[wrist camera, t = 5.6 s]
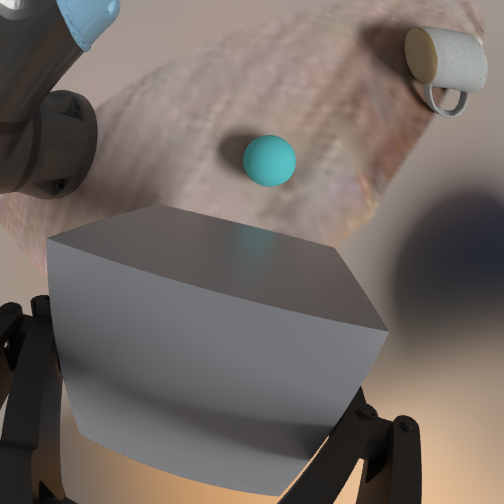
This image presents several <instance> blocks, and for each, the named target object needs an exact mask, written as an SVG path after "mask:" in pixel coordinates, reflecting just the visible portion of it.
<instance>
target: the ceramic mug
mask: <svg viewBox="0 0 504 504" xmlns="http://www.w3.org/2000/svg"><path fill="white" fill-rule="evenodd" d="M405 56H406V61H407V64H408V66H409V69H410V71H411V73H412V74H413V76H414V77H415V78H416V79H417V80H418V81H419V82H421V83H423V84H424V94H425V98H426V101H427V103H428V105H429V107H430V108H431V109H432V110H433V111H434V112H436V113H437V114H440V115H442V116H444V117H448V118H454V117H457V116H459V115H460V114H461V113H462V112H463V111H464V109H465V107H466V104H467V101H468V95H469V92H471V93H474V92H478V91H480V90H481V89H482V88H483V86H484V84H485V82H486V78H487V59H486V56H485V53H484V50H483V48H482V46H481V45H480V43H479V42H478V41H477V39H476V38H474V37H473V36H472V35H470V34H468V33H464V32H458V31H453V30H448V29H441V28H435V27H426V26H422V27H414V28H412V29H411V30H409V32H408V33H407V35H406V38H405ZM432 86H435V87H442V88H450V89H455V90H460V91H461V94H460V99H459V102H458V105H457V106H456V108H455V109H454V110H451V111H448V110H443V109H441V108H440V107H437V106H435V104H434V101H433V97H432V89H431V87H432Z"/></svg>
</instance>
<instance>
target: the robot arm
mask: <svg viewBox="0 0 504 504" xmlns="http://www.w3.org/2000/svg"><path fill="white" fill-rule="evenodd" d="M119 11H120V2H119V0H0V194H5V193H10V192H20V193H23V194H26V195H30V196H33V197H37V198H40V199H54V198H60V197H63V196H66V195H68V194H70V193H71V192H73V191H74V190H75V189H76V188H77V187H78V186H79V185H80V183H81V182H82V181H83V179H84V178H85V176H86V174H87V173H88V171H89V168H90V166H91V164H92V161H93V158H94V154H95V150H96V144H97V120H96V116H95V112H94V110H93V107H92V106H91V104H90V103H89V101H88V100H87V99H86V98H85V97H84V96H82V95H80V94H78V93H75V92H71V91H67V90H58V91H52V92H50V91H51V90H52V88H53V87H54V86H55V85H56V83H57V82H58V81H59V80H60V78H61V77H62V76H63V75H64V74H65V72H66V71H67V70H68V69H69V68H70V67H71V66H72V65H73V63H74V62H75V61H76V60H77V59H78V58H79V57H80V56H81V55H82V54H83V53H84V52H87V51H88V50H89V49H90V48H91V45H92V44H93V42H94V41H95V40H96V39H97V38H98V37H99V36H100V35H101V34H102V33H103V32H104V31H105V30H106V29H107V28H108V27H109V26H110V25H111V24H112V23H113V22H114V21H115V19H116V18H117V16H118V14H119ZM31 309H32V315H33V316H29V315H25V314H23V312H22V307H21V306H20V305H19V304H18V303H14V302H9V303H6V304H4V305H2V306H1V307H0V409H1V407H2V405H3V403H4V401H5V400H6V398H7V396H8V394H9V396H8V401H7V406H6V410H5V417H4V422H3V428H2V435H1V440H0V504H77V503H75V502H74V501H72V500H70V499H69V498H67V497H66V495H65V491H64V489H63V485H62V480H61V465H60V411H61V396H62V383H63V375H62V371H61V367H60V362H59V357H58V352H57V347H56V342H55V336H54V330H53V323H52V315H51V307H50V298H49V296H48V295H40V296H36V297H34V298H32V300H31ZM6 342H7V346H6V347H5V348H4V346H5V343H6ZM359 458H361V459H364V464H363V470H362V475H361V481H360V486H359V492H358V496H357V501H356V504H421V498H422V497H421V496H422V466H421V465H422V464H421V444H420V430H419V426H418V424H417V422H416V421H415V420H413V419H412V418H411V417H409V416H405V415H401V416H397V418H395V420H394V421H393V422H392V421H389V420H386V419H382V418H380V417H378V414H377V412H376V410H375V409H374V408H373V407H372V406H370V405H369V404H366V400H365V397H364V394H363V390H362V387H361V386H360V387H359V389H358V391H357V392H356V394H355V396H354V397H353V399H352V401H351V402H350V404H349V405H348V407H347V409H346V410H345V412H344V413H343V415H342V416H341V418H340V419H339V421H338V422H337V424H336V425H335V427H334V428H333V430H332V431H331V432H330V434H329V438H328V440H327V441H326V443H325V444H324V445H323V447H322V448H321V449H320V450H319V453H318V454H317V455H316V457H315V458H314V459H313V461H312V462H311V463H310V465H309V466H308V467H307V469H306V470H305V471H304V472H303V474H302V475H301V476H300V478H299V479H298V480H297V481H296V482H295V484H294V485H293V486H292V487H291V488H290V490H289V491H288V492H287V493H286V494H285V495H284V496H283V498H282V499H281V500H280V501H279V502H278V503H277V504H333V503H334V501H335V500H336V498H337V496H338V495H339V493H340V492H341V490H342V488H343V487H344V485H345V483H346V481H347V480H348V478H349V476H350V474H351V472H352V471H353V469H354V467H355V465H356V463H357V461H358V459H359Z"/></svg>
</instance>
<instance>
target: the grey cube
mask: <svg viewBox="0 0 504 504" xmlns="http://www.w3.org/2000/svg"><path fill="white" fill-rule="evenodd" d="M47 270H48V286H49V298H50V307H51V315H52V323H53V330H54V336H55V342H56V347H57V352H58V357H59V362H60V367H61V371H62V375H63V379H64V383H65V387H66V391H67V394H68V398H69V402H70V405H71V408H72V411H73V415H74V418H75V421H76V424H77V427H78V429H79V432H80V434H81V435H83V436H85V437H87V438H89V439H91V440H92V441H95V442H96V443H98V444H100V445H102V446H104V447H106V448H108V449H111V450H113V451H115V452H117V453H119V454H122V455H124V456H126V457H128V458H131V459H133V460H136V461H138V462H140V463H143V464H146V465H148V466H151V467H154V468H157V469H159V470H162V471H165V472H168V473H171V474H174V475H177V476H180V477H184V478H187V479H191V480H194V481H198V482H202V483H206V484H210V485H214V486H218V487H222V488H227V489H232V490H237V491H243V492H249V493H256V494H263V495H270V496H280V495H281V494H282V493H283V492H284V490H285V489H286V488H287V487H288V486H289V485H290V484H291V482H292V481H293V480H294V479H295V478H296V477H297V475H298V474H299V473H300V472H301V471H302V469H303V468H304V467H305V466H306V464H307V463H308V462H309V461H310V459H311V458H312V457H313V456H314V454H315V453H316V452H317V450H318V449H319V448H320V446H321V445H322V444H323V442H324V441H325V439H326V438H327V437H328V435H329V434H330V432H331V431H332V430H333V428H334V427H335V425H336V424H337V422H338V421H339V419H340V418H341V416H342V415H343V413H344V412H345V410H346V409H347V407H348V405H349V404H350V402H351V401H352V399H353V397H354V396H355V394H356V392H357V391H358V389H359V387H360V386H361V384H362V382H363V381H364V378H365V377H366V375H367V373H368V372H369V370H370V368H371V366H372V364H373V363H374V361H375V359H376V357H377V355H378V353H379V351H380V349H381V347H382V345H383V343H384V341H385V339H386V337H387V335H388V333H389V331H388V329H387V327H386V326H385V324H384V322H383V321H382V319H381V317H380V316H379V314H378V313H377V311H376V309H375V308H374V306H373V305H372V303H371V302H370V300H369V298H368V297H367V295H366V294H365V293H364V291H363V289H362V288H361V286H360V285H359V283H358V282H357V280H356V279H355V277H354V276H353V274H352V273H351V271H350V270H349V268H348V267H347V265H346V264H345V262H344V261H343V259H342V258H341V256H340V255H339V254H338V252H337V251H336V249H335V248H333V247H330V246H326V245H322V244H318V243H315V242H311V241H307V240H303V239H300V238H296V237H292V236H288V235H284V234H280V233H276V232H272V231H268V230H265V229H261V228H257V227H253V226H249V225H245V224H240V223H236V222H232V221H228V220H224V219H220V218H216V217H212V216H207V215H203V214H199V213H195V212H191V211H186V210H182V209H178V208H173V207H169V206H165V205H160V204H155V205H151V206H147V207H144V208H140V209H137V210H133V211H130V212H126V213H123V214H119V215H116V216H113V217H109V218H106V219H103V220H100V221H96V222H93V223H90V224H87V225H84V226H81V227H78V228H75V229H72V230H69V231H66V232H63V233H60V234H57V235H55V236H52V237H49V238H47Z"/></svg>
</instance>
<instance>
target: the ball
mask: <svg viewBox="0 0 504 504" xmlns="http://www.w3.org/2000/svg"><path fill="white" fill-rule="evenodd" d="M243 164H244V169H245V171H246V173H247V175H248V176H249V177H250V178H251V179H252V180H253V181H254V182H256V183H257V184H259V185H262V186H268V187H272V186H277V185H280V184H282V183H284V182H285V181H287V180H288V179H289V178H290V177H291V175H292V174H293V172H294V169H295V165H296V157H295V153H294V151H293V149H292V147H291V146H290V144H289V143H288V142H286V141H285V140H284V139H282V138H280V137H277V136H273V135H266V136H261V137H259V138H256V139H255V140H253V141H252V142H251V143H250V144H249V145H248V147H247V148H246V150H245V153H244V157H243Z"/></svg>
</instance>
